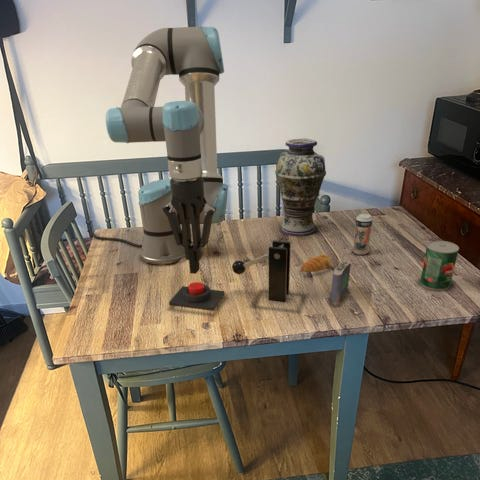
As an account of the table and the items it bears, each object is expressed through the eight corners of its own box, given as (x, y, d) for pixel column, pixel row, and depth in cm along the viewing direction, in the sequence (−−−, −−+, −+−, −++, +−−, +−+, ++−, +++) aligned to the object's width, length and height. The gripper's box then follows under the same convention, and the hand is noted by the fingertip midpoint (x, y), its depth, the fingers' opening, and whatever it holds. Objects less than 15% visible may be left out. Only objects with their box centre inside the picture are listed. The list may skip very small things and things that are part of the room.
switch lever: (234, 278, 120) (227, 266, 119) (238, 272, 123) (232, 260, 122) (286, 258, 113) (279, 246, 112) (289, 253, 116) (283, 240, 115)
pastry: (311, 278, 132) (312, 266, 130) (295, 271, 137) (295, 259, 135) (333, 269, 137) (334, 257, 135) (317, 262, 142) (317, 250, 140)
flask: (338, 306, 118) (341, 268, 113) (327, 304, 119) (329, 266, 114) (349, 291, 125) (352, 254, 119) (338, 289, 126) (341, 252, 121)
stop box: (169, 309, 120) (168, 295, 118) (183, 293, 127) (182, 280, 125) (213, 315, 117) (212, 301, 115) (224, 298, 124) (224, 284, 122)
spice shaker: (351, 254, 146) (355, 217, 139) (354, 248, 149) (357, 212, 143) (366, 256, 144) (371, 219, 138) (369, 250, 148) (373, 214, 141)
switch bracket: (252, 306, 120) (251, 249, 111) (261, 290, 127) (260, 236, 119) (298, 312, 116) (300, 254, 108) (304, 295, 124) (307, 239, 115)
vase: (310, 242, 155) (315, 148, 139) (265, 233, 163) (265, 143, 148) (330, 226, 167) (336, 138, 151) (287, 219, 175) (289, 134, 159)
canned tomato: (451, 292, 123) (460, 253, 117) (420, 288, 125) (427, 250, 119) (449, 278, 129) (457, 241, 124) (419, 276, 131) (426, 239, 126)
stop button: (186, 294, 119) (186, 288, 118) (192, 287, 122) (191, 281, 121) (201, 296, 118) (200, 290, 117) (206, 288, 121) (206, 283, 120)
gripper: (152, 180, 103) (165, 275, 116) (207, 183, 100) (214, 280, 113) (166, 171, 109) (177, 262, 122) (218, 174, 106) (224, 267, 119)
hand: (195, 271), depth 117 cm, fingers closed
